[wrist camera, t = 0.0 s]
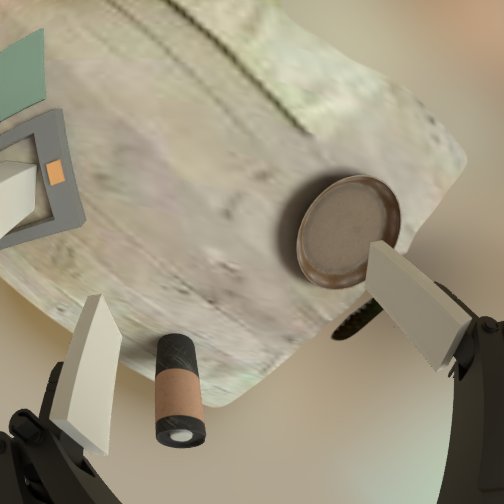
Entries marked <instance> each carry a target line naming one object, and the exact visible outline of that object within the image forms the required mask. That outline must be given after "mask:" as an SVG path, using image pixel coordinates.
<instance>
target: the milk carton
mask: <svg viewBox="0 0 504 504" xmlns="http://www.w3.org/2000/svg"><path fill="white" fill-rule="evenodd" d="M36 172H37V165H36V164H28V163H20V162H11V161H4V162H1V163H0V239H1V238H2V237H3V236H4V235H5V234H6V233H7V232H9V231H10V230H11V229H12V228H13V227H14V226H16V225H17V224H18V223H19V222H20V221H21V220H23V219H24V218H25V217H26V216H27V215H29V214H30V213H31V212H32V211H34V210H35V186H36Z"/></svg>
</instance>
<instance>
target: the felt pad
mask: <svg viewBox="0 0 504 504" xmlns="http://www.w3.org/2000/svg"><path fill="white" fill-rule="evenodd" d="M43 43H44V29H43V28H42V29H40V30H38V31H36V32H34V33H32V34H30V35H28V36H26V37H25V38H23V39H21V40H19V41H18V42H16V43H14V44H12V45H11V46H9V47H8V48H6V49H4V50H3V51H1V52H0V122H1V121H3V120H5V119H7V118H8V117H10V116H12V115H14V114H16V113H18V112H20V111H22V110H24V109H26V108H28V107H30V106H32V105H34V104H36V103H38V102H40V101H42V100H45V99H46V91H45V78H44V49H43Z"/></svg>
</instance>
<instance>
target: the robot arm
mask: <svg viewBox="0 0 504 504" xmlns="http://www.w3.org/2000/svg"><path fill="white" fill-rule="evenodd" d="M364 287H365V288H366V289H367V290H368V291H369V293H370V294H371V295H372V296H373V297H374V298H375V300H376V301H377V302H378V303H379V304H380V305H381V306H382V308H383V309H384V310H385V311H386V312H387V313H388V314H389V316H390V317H391V318H392V319H393V320H394V321H395V323H396V324H397V325H398V326H399V327H400V329H401V330H402V331H403V332H404V333H405V335H406V336H407V337H408V338H409V339H410V341H411V342H412V343H413V344H414V345H415V347H416V348H417V349H418V350H419V352H420V353H421V354H422V355H423V357H425V359H426V360H427V362H428V363H429V364H430V365H431V367H432V368H433V369H434V370H435V372H438V371H439V370H441V369H443V368H445V367H446V366H447V365H448V364H449V362H450V361H451V359H452V357H453V356H454V357H455V358H456V362H455V364H454V365H453V367H452V369H451V370H450V372H449V374H448V377H450V376H451V375H452V373H453V372H454V376H453V378H454V400H453V415H452V426H451V435H450V442H449V449H448V455H447V461H446V466H445V472H444V476H443V481H442V485H441V489H440V493H439V497H438V501H437V504H504V321H501V322H497V321H496V320H494V319H493V318H491V317H488V316H482V317H480V318H479V317H478V316H477V315H476V314H475V313H473V312H472V311H471V310H470V309H469V308H468V307H467V306H466V305H465V304H464V303H463V302H462V301H461V300H459V299H458V298H457V297H456V296H455V295H454V294H452V292H451V291H450V290H448V289H447V288H446V287H445V286H443V285H441V284H439V283H437V282H432V281H431V280H430V279H429V278H428V277H427V276H425V275H424V274H423V273H422V272H421V271H420V270H418V269H417V268H416V267H415V266H414V265H413V264H411V263H410V262H409V261H408V260H406V259H405V258H404V257H403V256H402V255H400V254H399V253H398V252H397V251H395V250H394V249H393V248H392V247H390V246H389V245H388V244H387V243H385V242H384V241H383V240H380V241H376V242H371V243H370V250H369V258H368V266H367V273H366V280H365V286H364ZM121 341H122V335H121V333H120V331H119V329H118V327H117V325H116V323H115V321H114V319H113V317H112V315H111V313H110V311H109V309H108V306H107V304H106V302H105V300H104V298H103V295H102V294H98V295H92V296H88V298H87V300H86V302H85V305H84V307H83V310H82V312H81V315H80V318H79V320H78V323H77V326H76V328H75V331H74V334H73V337H72V339H71V342H70V345H69V348H68V351H67V354H66V357H65V361H64V362H58V363H57V364H56V366H55V367H54V368H53V370H52V372H51V374H50V377H49V381H48V382H49V384H47V387H46V392H45V394H44V398H43V402H42V406H41V410H40V414H39V418H38V417H36V416H35V415H34V414H33V413H32V412H31V411H30V410H28V409H21V410H18V411H17V412H15V413H14V415H12V417H11V419H10V423H9V432H10V434H12V435H13V436H14V438H11V437H10V436H9V435H7V434H6V433H4V432H2V431H0V504H122V503H121V502H120V501H119V500H118V498H117V497H116V496H115V495H114V494H113V493H112V491H111V490H110V489H109V488H108V486H107V485H106V484H105V483H104V481H103V480H102V479H101V478H100V476H99V475H98V474H97V472H96V471H95V470H94V468H93V467H92V466H91V464H90V463H89V461H88V460H87V459H86V458H85V457H84V456H83V449H85V450H87V451H88V452H89V453H91V454H94V455H108V451H109V450H108V449H109V434H110V422H111V411H112V401H113V392H114V385H115V378H116V371H117V364H118V358H119V352H120V346H121ZM25 479H26V481H25Z"/></svg>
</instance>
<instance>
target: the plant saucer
mask: <svg viewBox="0 0 504 504" xmlns="http://www.w3.org/2000/svg"><path fill="white" fill-rule="evenodd" d="M400 230H401V209H400V204H399V201H398V199H397V196H396V195H395V193H394V191H393V190H392V189H391V187H390V186H389V185H388V184H386V183H385V182H384V181H382V180H380V179H378V178H376V177H373V176H368V175H355V176H350V177H347V178H344V179H341V180H339V181H337V182H335V183H334V184H332V185H330V186H329V187H328V188H326V189H325V190H324V191H323V192H322V193H320V194H319V195H318V196H317V198H316V199H315V200H314V201H313V202H312V204H311V205H310V206H309V208H308V210H307V211H306V213H305V215H304V217H303V219H302V222H301V225H300V228H299V231H298V236H297V245H296V251H297V259H298V263H299V266H300V268H301V270H302V272H303V274H304V275H305V276H306V278H307V279H308V280H309V281H310V282H312V283H313V284H315V285H316V286H318V287H321V288H324V289H328V290H343V289H348V288H351V287H354V286H356V285H359V284H361V283H363V282H364V281H365V280H366V273H367V266H368V258H369V250H370V243H371V242H376V241H380V240H383V241H384V242H385V243H387V244H388V245H389V246H390V247H392V248H393V249H394V248H395V246H396V244H397V241H398V238H399V235H400Z"/></svg>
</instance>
